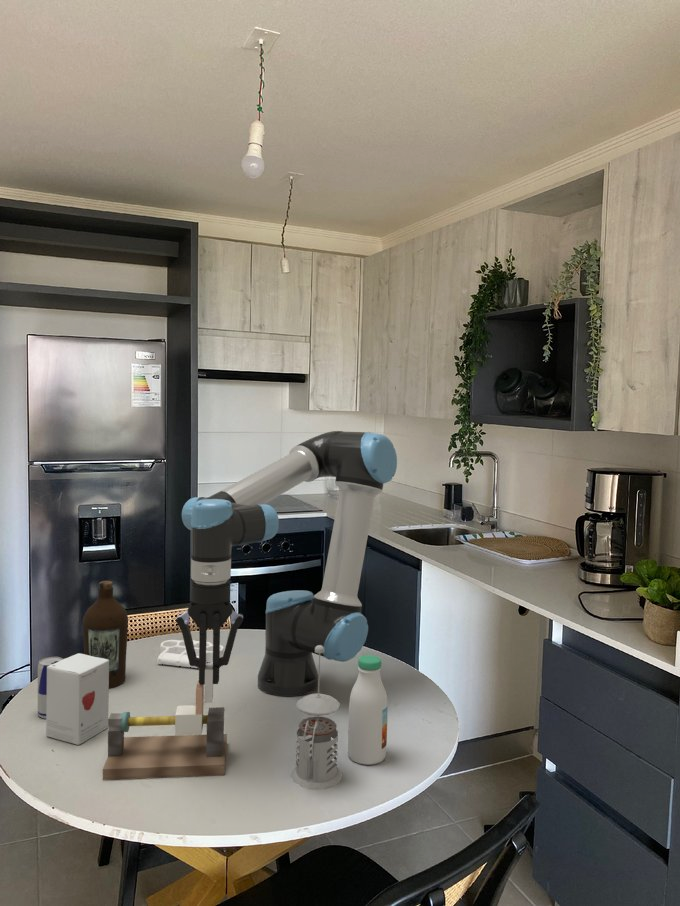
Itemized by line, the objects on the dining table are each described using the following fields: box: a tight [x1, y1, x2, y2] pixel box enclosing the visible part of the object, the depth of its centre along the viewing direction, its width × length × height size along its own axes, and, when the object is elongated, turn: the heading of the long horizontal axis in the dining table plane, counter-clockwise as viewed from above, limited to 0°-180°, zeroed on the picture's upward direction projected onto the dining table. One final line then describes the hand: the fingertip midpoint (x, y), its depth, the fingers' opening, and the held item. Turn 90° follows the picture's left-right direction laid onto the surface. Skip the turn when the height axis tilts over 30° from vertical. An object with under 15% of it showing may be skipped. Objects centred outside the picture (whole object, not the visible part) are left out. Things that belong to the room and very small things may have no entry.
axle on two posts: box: [102, 706, 228, 781], centre depth 132 cm, size 22×12×10 cm, turn 97°
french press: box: [290, 645, 343, 790], centre depth 127 cm, size 10×12×25 cm
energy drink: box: [37, 656, 64, 720], centre depth 150 cm, size 5×5×12 cm
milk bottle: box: [347, 654, 389, 766], centre depth 135 cm, size 8×8×20 cm
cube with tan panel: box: [174, 680, 205, 736], centre depth 132 cm, size 5×4×9 cm
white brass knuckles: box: [156, 639, 225, 669], centre depth 185 cm, size 3×18×15 cm
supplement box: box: [45, 652, 110, 746], centre depth 142 cm, size 9×9×15 cm
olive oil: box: [82, 580, 129, 689], centre depth 168 cm, size 11×11×25 cm
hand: (208, 699), depth 132 cm, fingers closed
